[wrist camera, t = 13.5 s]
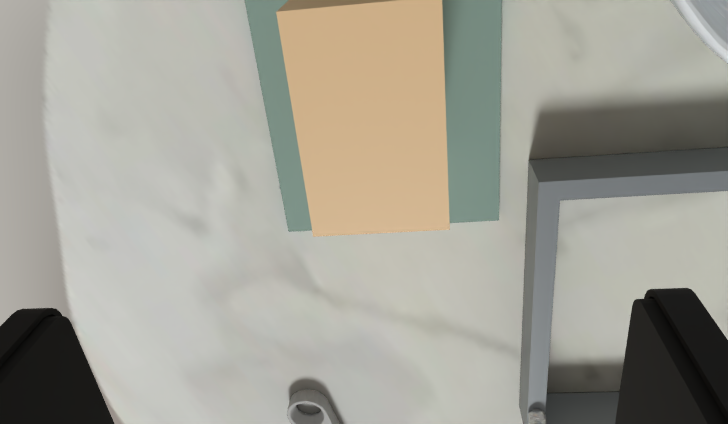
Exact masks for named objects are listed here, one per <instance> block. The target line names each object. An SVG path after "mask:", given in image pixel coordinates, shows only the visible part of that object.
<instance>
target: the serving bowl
mask: <svg viewBox="0 0 728 424" xmlns="http://www.w3.org/2000/svg"><path fill="white" fill-rule="evenodd" d="M670 1H671V3H672V4H673V5H674V7H675V8H676V9H677V11H678V12H679V14H680V15H681V16H682V18H683V19H684V20H685V21H686V23H687V24H688V25H689V26H690V28H691V29H692V30H693V31H694V32H695V34H696V35H697V36H698V37H699V38H700V39H701V40H702V41H703V42H704V43H705V44H706V45H707V46H708V47H709V48H710V49H711V50H712V51H713V52H714V53H715V54H716V55H718V56H719V57H720V58H721V59H722V60H724V61H725V62H726V63H727V64H728V0H670Z"/></svg>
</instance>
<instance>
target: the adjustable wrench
mask: <svg viewBox="0 0 728 424" xmlns="http://www.w3.org/2000/svg"><path fill="white" fill-rule="evenodd" d="M303 403H308V404H312V405H315V406H317V407H318V408H320V409H321V411H320V412H318V413H316V414H307V413H304V412H302V411H300V410H299V409H298V408H297V407H296V405H298V404H303ZM287 416H288V419H289V421H290V422H291V424H340V423H339V421H338V419H337V417H336V415H335V413H334V411H333V409H332V407H331V405H330V403H329V401H328V399H327V398H326V397H325V396H324V395H323V394H321V393H320V392H317V391H315V390H309V389H307V390H300V391H298V392H296V393H294V394H293V395H292V397H291V399H290V402H289V407H288V411H287Z"/></svg>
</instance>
